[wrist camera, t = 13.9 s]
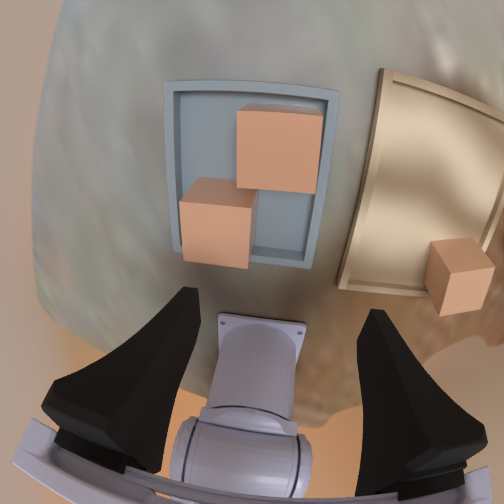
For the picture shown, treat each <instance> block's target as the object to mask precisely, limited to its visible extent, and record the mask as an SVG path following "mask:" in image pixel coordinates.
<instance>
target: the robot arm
mask: <svg viewBox="0 0 504 504" xmlns="http://www.w3.org/2000/svg"><path fill="white" fill-rule="evenodd" d="M222 321H223V322H222ZM200 324H201V318H200V307H199V295H198V289H197V288H190V287H183V288H181V290H180V291H179V292H178V293H177V294H176V295H175V296H174V297H173V298H172V299H171V300H170V301H169V302H168V303H167V304H166V305H165V307H164V308H163V309H162V310H161V311H160V312H159V313H157V314H156V315H155V316H154V317H153V318H152V319H151V320H150V321H149V322H148V323H147V324H146V325H145V326H144V327H143V328H141V329H140V330H139V331H138V332H137V333H136V334H135V335H133V336H132V337H131V338H130V339H128V340H127V341H126V342H124V343H123V344H122V345H120V346H119V347H118V348H116V349H115V350H113V351H112V352H110V353H109V354H107V355H106V356H104V357H103V358H101V359H99V360H98V361H96V362H94V363H92V364H90V365H88V366H86V367H85V368H83V369H81V370H79V371H77V372H74V373H72V374H70V375H67V376H65V377H62V378H60V379H57V380H55V381H54V382H53V384H52V386H51V387H50V389H49V391H48V393H47V395H46V397H45V399H44V401H43V403H42V405H41V407H42V410H43V411H44V412H45V413H46V414H47V415H48V416H49V417H50V418H51V419H52V420H53V421H54V422H55V423H56V424H57V425H58V426H59V427H60V428H59V430H58V432H56V431H55V430H53V429H52V428H50V427H48V426H46V425H45V424H43V423H41V422H39V421H38V420H36V419H34V418H31V420H30V422H29V424H28V426H27V428H26V430H25V432H24V434H23V437H22V439H21V441H20V443H19V445H18V448H17V450H16V452H15V454H14V457H13V459H12V463H13V464H14V465H15V466H17V467H18V468H19V469H21V470H22V471H24V472H25V473H27V474H28V475H29V476H31V477H32V478H34V479H35V480H37V481H39V482H40V483H41V484H43V485H44V486H46V487H47V488H49V489H50V490H52V491H54V492H55V493H57V494H58V495H60V496H62V497H63V498H65V499H67V500H68V501H70V502H72V503H74V504H493V502H492V491H491V482H490V475H489V468H488V466H485V467H483V468H480V469H477V470H474V471H471V472H468V473H466V474H464V472H463V469H465V468H466V467H467V463H466V460H467V459H469V458H470V457H472V456H474V455H475V454H476V453H478V452H480V451H481V450H483V449H484V448H485V447H486V445H487V443H488V441H487V436H486V431H485V427H484V425H483V424H482V423H481V422H479V421H478V420H476V419H475V418H474V417H472V416H471V415H469V414H468V413H467V412H466V411H465V410H463V409H462V408H461V407H460V406H459V405H458V404H456V403H455V402H454V401H453V400H452V399H451V398H450V397H449V396H448V395H447V394H446V393H445V392H444V391H443V390H442V389H441V388H440V387H439V386H438V385H437V384H436V382H435V381H434V380H433V379H432V378H431V377H430V375H429V374H428V373H427V372H426V371H425V370H424V368H423V367H422V365H421V364H420V363H419V361H418V360H417V359H416V357H415V356H414V354H413V353H412V352H411V350H410V349H409V347H408V346H407V344H406V343H405V341H404V340H403V338H402V337H401V335H400V334H399V332H398V331H397V329H396V328H395V326H394V324H393V323H392V321H391V320H390V318H389V317H388V315H387V314H386V312H385V311H384V310H378V309H371V310H370V312H369V315H368V317H367V319H366V321H365V324H364V326H363V328H362V330H361V332H360V335H359V337H358V339H357V364H358V371H359V379H360V387H361V395H362V403H363V441H362V453H361V462H360V470H359V475H358V481H357V487H356V491H355V497H346V498H302V497H303V495H304V494H305V492H306V490H307V487H308V485H309V481H310V477H311V471H312V448H311V445H310V443H309V442H308V440H307V439H306V437H305V435H303V434H297V424H298V423H297V422H292V414H293V399H294V382H295V367H296V363H297V360H298V357H299V353H300V350H301V347H302V343H303V340H304V336H305V333H306V325H305V324H304V323H297V322H288V321H279V320H271V319H263V318H255V317H247V316H240V315H233V314H226V313H220V314H219V315H218V341H219V357H218V360H217V364H216V368H215V372H214V376H213V380H212V384H211V388H210V392H209V396H208V399H207V403H206V407H202V409H201V412H200V416H199V418H198V417H194V416H191V417H190V418H189V419H187V420H185V421H184V422H183V423H182V424H181V426H180V428H179V430H178V433H177V436H176V439H175V442H174V446H173V450H172V455H171V460H170V469H169V476H170V479H168V478H165V477H161V476H158V475H154V474H155V473H158V472H159V471H161V466H162V460H163V454H164V447H165V442H166V437H167V432H168V427H169V423H170V418H171V414H172V409H173V406H174V402H175V398H176V394H177V391H178V388H179V385H180V382H181V380H182V377H183V375H184V372H185V369H186V367H187V364H188V362H189V359H190V357H191V354H192V351H193V349H194V346H195V343H196V340H197V336H198V332H199V328H200ZM299 331H301V332H299ZM155 492H158V493H161V494H165V495H168V496H169V497H170V498H171V499H167V498H165V497H161V496H159V495H156V493H155Z"/></svg>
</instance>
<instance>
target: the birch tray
mask: <svg viewBox="0 0 504 504" xmlns="http://www.w3.org/2000/svg"><path fill="white" fill-rule="evenodd" d="M503 207H504V113H502V112H500V111H498V110H496V109H494V108H492V107H490V106H488V105H486V104H484V103H482V102H479V101H477V100H475V99H473V98H470V97H468V96H466V95H463V94H461V93H458V92H456V91H453V90H451V89H448V88H446V87H443V86H440V85H438V84H435V83H432V82H429V81H426V80H423V79H420V78H417V77H414V76H410V75H407V74H404V73H400V72H397V71H393V70H389V69H386V68H380V70H379V79H378V87H377V95H376V102H375V109H374V116H373V122H372V128H371V134H370V140H369V146H368V151H367V157H366V162H365V167H364V172H363V177H362V182H361V187H360V191H359V196H358V200H357V205H356V209H355V213H354V217H353V222H352V226H351V230H350V234H349V238H348V242H347V245H346V249H345V253H344V257H343V260H342V264H341V268H340V271H339V275H338V278H337V286H338V289H344V290H354V291H364V292H374V293H384V294H395V295H406V296H417V297H429V298H431V297H430V294H429V292H428V290H427V288H426V285H425V283H424V280H425V275H426V269H427V263H428V257H429V251H430V244H431V241H435V240H445V239H456V238H466V237H473V238H474V240H475V241H476V242H477V243H478V245H479V246H480V247H481V249H482V250H483V251H484V252H485V251H486V249H487V247H488V245H489V242H490V240H491V238H492V235H493V233H494V231H495V228H496V226H497V223H498V221H499V218H500V215H501V213H502V210H503Z"/></svg>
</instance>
